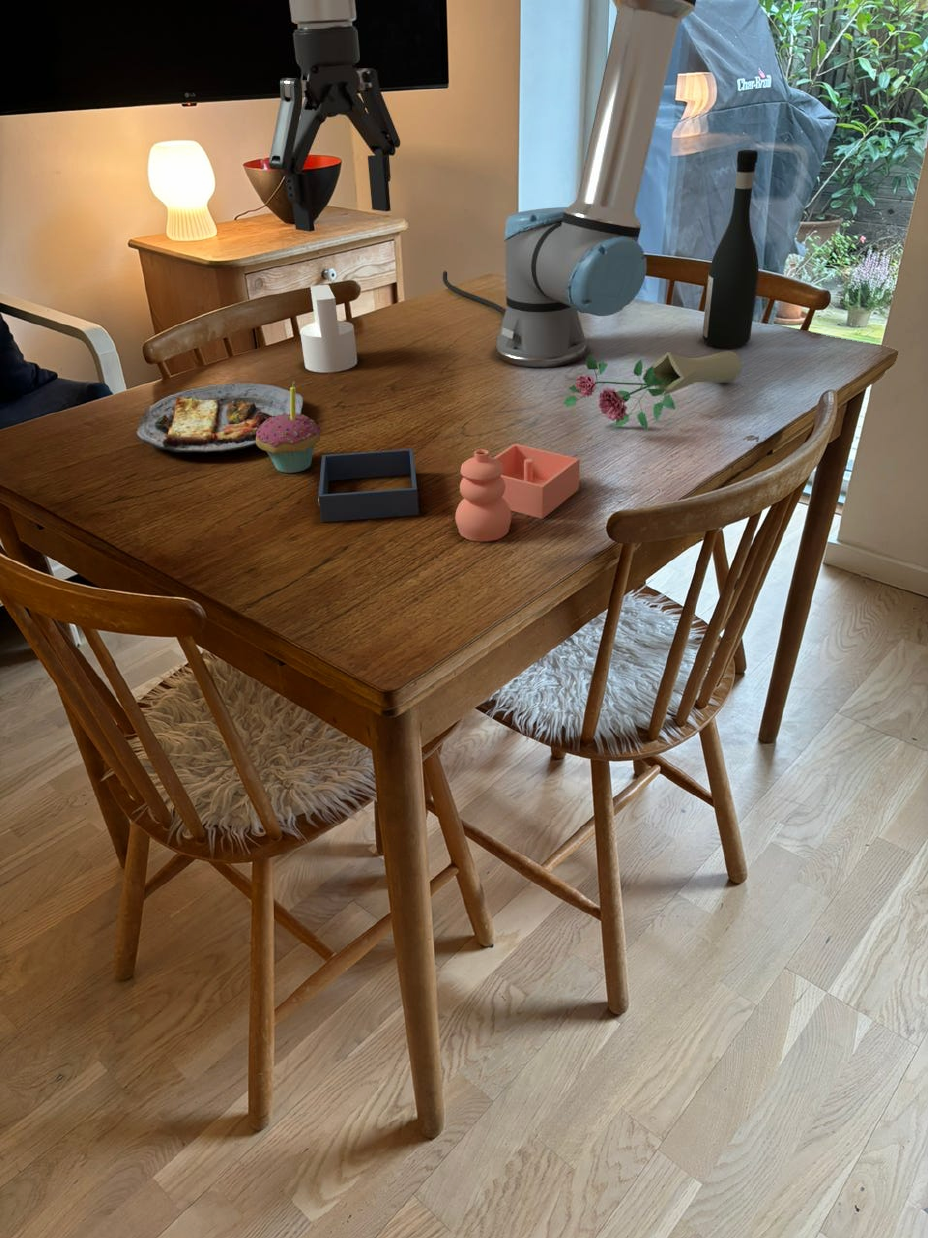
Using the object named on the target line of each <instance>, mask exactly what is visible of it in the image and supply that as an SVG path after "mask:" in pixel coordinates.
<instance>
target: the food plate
mask: <svg viewBox="0 0 928 1238" xmlns="http://www.w3.org/2000/svg"><path fill="white" fill-rule="evenodd" d="M303 401H304V398H303V396H301V394H299V393H297V392H296V408H295V413H298V414H301V415H302V408H303ZM289 413H290V390H288V389H285V388H282V387H279V386H276V385H271V384H263V383H255V382H247V383H246V382H233V383H232V382H231V383H224V384H220V383H218V384H210V385H206V386H202V387H197V388H192V389H187V390H184V391H179V392H176V393H174V394H171V395H168V396H166V397H164V398H162V399H159V401H157V402H156V403H155V404H152V405H151V406H148V407H147V408H145V410H144V412H143V414H142V416H141V418H140V421H139V423H138V427H137V430H136V431H135V432H136V435H137V437H138V439H139V440H141V441H142V443H143V442H144V443H145V444H148V445H150V446H152V447H154V448H156V449H158V450H164V451H170V452H172V453H173V452H174V453H176V454H177V453H208V452H212V453H219V454H220V453H224V452H230V451H237V450H241V449H246V448H248V447H252V446H255V445H256V446H257V444H256V432H257V429H258V428H259V427H258V426H260V424H262V423H263V422H264V421H266V420H267V419H268V418H269V417H270V418H271V417H273V416H278V415H281V414H282V415H283V414H289Z"/></svg>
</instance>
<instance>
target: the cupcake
mask: <svg viewBox="0 0 928 1238" xmlns="http://www.w3.org/2000/svg"><path fill="white" fill-rule="evenodd" d="M295 382H296V381H293V382H292V386H291V387H290V388H289V391H290V413H289V414H283V415H282V414H281V415H278V416H273V417H271V418H270V417H269V418H268V419H267V420H266V421H264V422H263V423H262V424H260V426H258V427H259V428H258V429H257V432H256V446H257V448H258V449H260V450H262V451H264V452H266V453H267V455H268V456H269V457H270V459H271V461H272V463H273V465H274V467H275V470H277V471H279V472H281V473H287V474H296V473H299V472H304V471H306V470H307V469H308V468H310V467H311V465H312V461H313V460H312V459H313V454H314V449H315V447H316V445H317V444H318V443H319V442H320V440H321V436H320V434H321V433H322V430H321V426H319V424H317V422H316V421H315V420H314V419H311V418H310V417H308V416H307V415H305V414H302V413H301V414H298V413H295V408H296V393H297V392H296V389H297V388H296V387H295Z"/></svg>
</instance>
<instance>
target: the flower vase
mask: <svg viewBox="0 0 928 1238" xmlns="http://www.w3.org/2000/svg"><path fill="white" fill-rule="evenodd" d="M608 365H609V364H608V363H607V362H603V361H601V362H598V364H597V362H596V360H595V358H594V357H593V355H591V354H590V353H589V354H588V356H587V358H586V368H587V370H591V371H592V370H593V371H594V374H595V378H596V379H598V375H601V374H602V373H604V372H605V370H606V368H607V367H608ZM643 366H644V365H643V360H642V358H640V359H639V360H638V361H637V362H636V363H635V366H634V367H633V372H632V373H633V375H635V376H636V377H637V378H638V379H639V382H638V383H637V382H617V381H604V380H603V381H595V380H594V376H593V375H591V376H590V374H587V375H586V374H585V373H583V374H582V375H581V374H579V375H578V376H577V378H576V381H577V382H575V384H573V385H572V386H569V387H568V389H569V390H571V391H572V392H573V393H577V394H579V395H581V397H579V398H577V397H576V396H575V395H574V394H572V395H569V396H568V397H566V398H565V400H564V402H563V405H564V406H566V407H574V406H576V405H577V402H578V401H579V400H580V399H582V398H586V397H587V398H589V397H590V396H593V393H595V390H597V389H599V388H600V387H602V386H603V385H605V384H613V385H626V386H627V385H630V386H631V385H632V386H640V387H638V388H637V389H635V390H633V391H631V392H630V391H628V390H622V389H620V390H617V391H616V389H615V388H610V387H609V386H606V388H603V390H602V391H600V392H599V396H598V399H599V400H598V406H599V409H600V412H601V413H602V414H603V415H605V417H606V418H607V419H609V420H611V421H614V422H615V423H614V428H618V427H622V426H623V425H625V424H626V423H628V422H629V421H630V415H631V414H632V413H633V411H634V410H635V408H636V407H637V405H638V404H639V407H640V412H639V413H638V414H636V417H637V420H638V423H639V424H640V426H641V427H643V428H644V429H645V430H646V431H648V429H649V428H648V420H647V417H646V413H644V412H643V410H642V406H641V402H640V401H641V400H642V398H643V396H644V395H645V394H646V392H648V393H649V394H650V395H651V397H658V396H660V397H663V396H664V397H663V399H662V400H661V401H660V402H657V403H655V404H654V405H653V408H652V411H653V412H652V414H653V417H654V419H655V421H656V422H657V421H658V420H659V418H660V416H661V415H662V411H663V407H666V408H667V409H670V410H676V406H675V402H674V399H673V398H672V397H671V395H670V394H672V393H673V392H676V391H678V390H681V389H683V388H686V387H689V386H691V385H693V384H697V383H717V384H718V383H719V384H727V383H730V382H733V381H734V380H735V379H736V378H738V377H739V375H740V373H741V369H742V364H741V359H740V357H739V356H738V355H737V354H736V352H734V351H731V350H723V351H720V352H716V353H713V354H708V355H705V356H700V357H696V358H691V357H690V358H689V357H684V356H681V355H678V354H675V353H673V352H670V351H667V352H666V353H665V354H663V356H661V357H660V358H659V359H658V360H656V361H655V362H654V363H653V364H652V365H650V366H649V367H648V368H646V370H645V373H644V374H643V377H642V380H643V382H644V383H643V382H642V381H641V378H640V376H642V373H643ZM596 370H598V372H596ZM598 384H601V385H598ZM597 385H598V386H597ZM652 387H655V388H652ZM643 390H645V392H644V393H643V394H642V395H641V397H639V399H638V401H637V403H636V404H635V406H634V407H633V409H632V411H631V412H630V413H629V414H628V413H627V410H628V406H627V405H625V403H626V402H628V401H630V399H632V398H634V399H636V397H635V396H631V395H633V394H636V393H638V392H641V391H643Z"/></svg>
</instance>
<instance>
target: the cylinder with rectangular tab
mask: <svg viewBox="0 0 928 1238" xmlns="http://www.w3.org/2000/svg"><path fill="white" fill-rule="evenodd" d="M310 293H311V301H312V309H313V316H314V322H312V323H309V324H306V325H304V326H302V327H301V328H300V330H299V333H300V340H301V349H302V355H303V362H304V363H303V364H304V367H305V369H306V370H308V371H310V372H314V373H322V374H323V373H325V374H326V373H337V372H342V371H346V370H349V369H351V368H353V367H355V366H356V365H357V364H358V355H357V346H356V336H355V328H354V327H355V326H354V325H353V323H351V322H349V321H344V320H338V312H337V303H336V297H335V295H334V293H333V291H332V289H331V287H330V285H329V284H319V285H312V286H310Z"/></svg>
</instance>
